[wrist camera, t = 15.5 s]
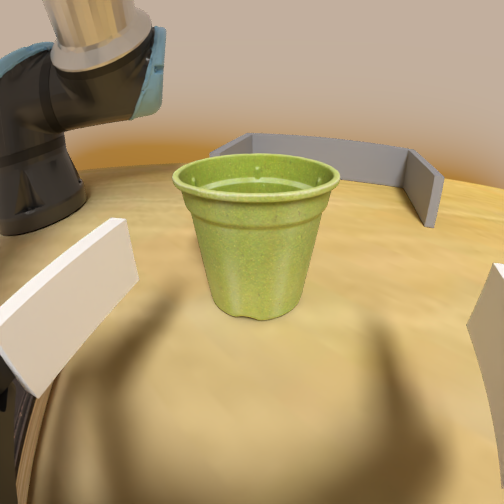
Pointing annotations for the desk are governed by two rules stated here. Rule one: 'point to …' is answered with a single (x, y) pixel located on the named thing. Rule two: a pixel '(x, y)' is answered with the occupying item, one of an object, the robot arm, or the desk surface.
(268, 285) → the plant pot
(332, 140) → the open-front box
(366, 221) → the desk surface
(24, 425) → the hardcover book
